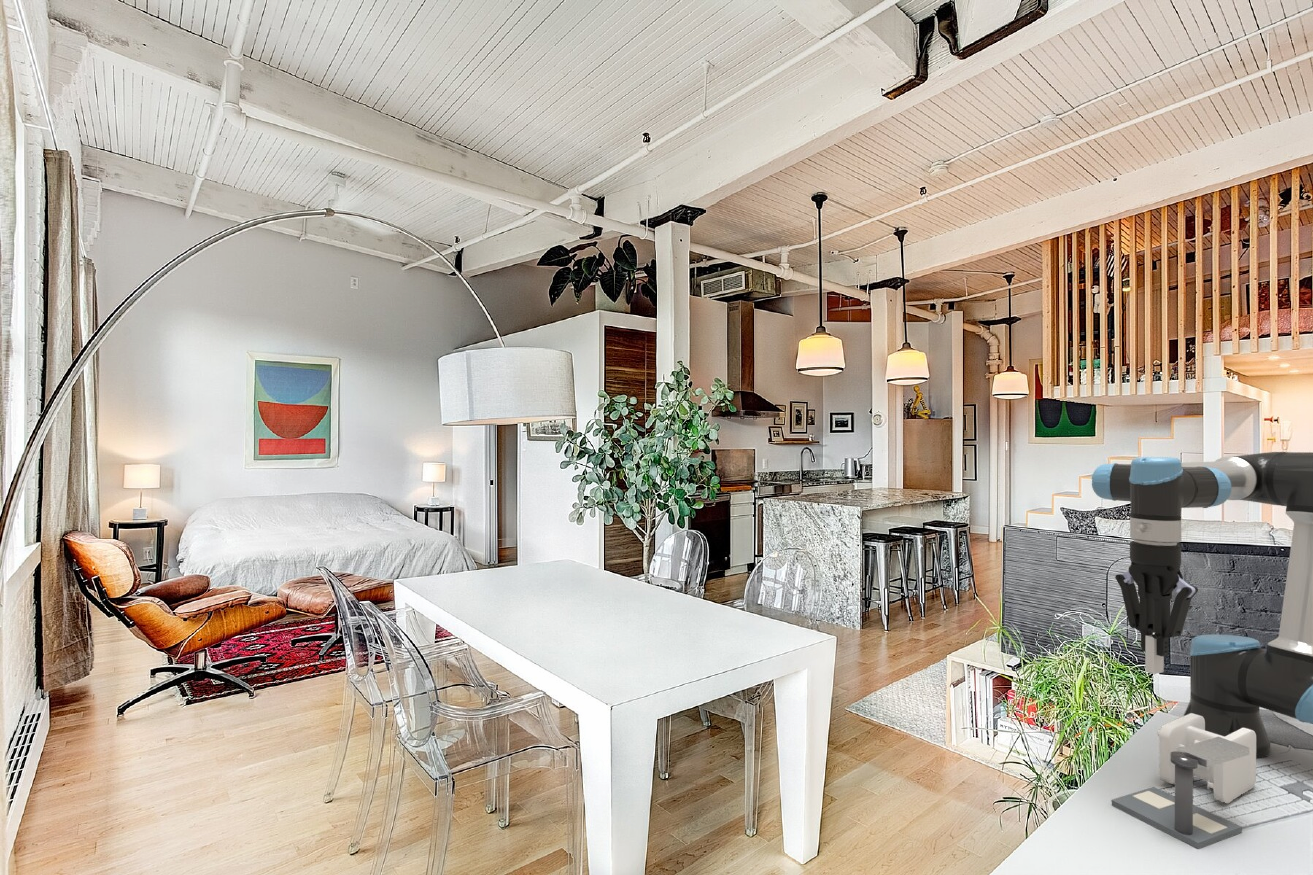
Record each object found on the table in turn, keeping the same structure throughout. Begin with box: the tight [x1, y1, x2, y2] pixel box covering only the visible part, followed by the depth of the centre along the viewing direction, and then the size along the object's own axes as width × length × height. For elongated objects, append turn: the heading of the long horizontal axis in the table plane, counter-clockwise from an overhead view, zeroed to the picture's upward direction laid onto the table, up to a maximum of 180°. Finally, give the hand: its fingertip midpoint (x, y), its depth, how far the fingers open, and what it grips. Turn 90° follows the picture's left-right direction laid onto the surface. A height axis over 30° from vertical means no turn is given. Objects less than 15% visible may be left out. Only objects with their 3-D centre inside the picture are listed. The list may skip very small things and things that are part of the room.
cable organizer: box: [1157, 713, 1257, 804], centre depth 129 cm, size 15×11×12 cm
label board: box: [1111, 765, 1243, 850], centre depth 118 cm, size 12×14×12 cm
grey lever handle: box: [1170, 737, 1249, 769], centre depth 115 cm, size 16×5×1 cm, turn 112°
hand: (1154, 671), depth 122 cm, fingers closed
